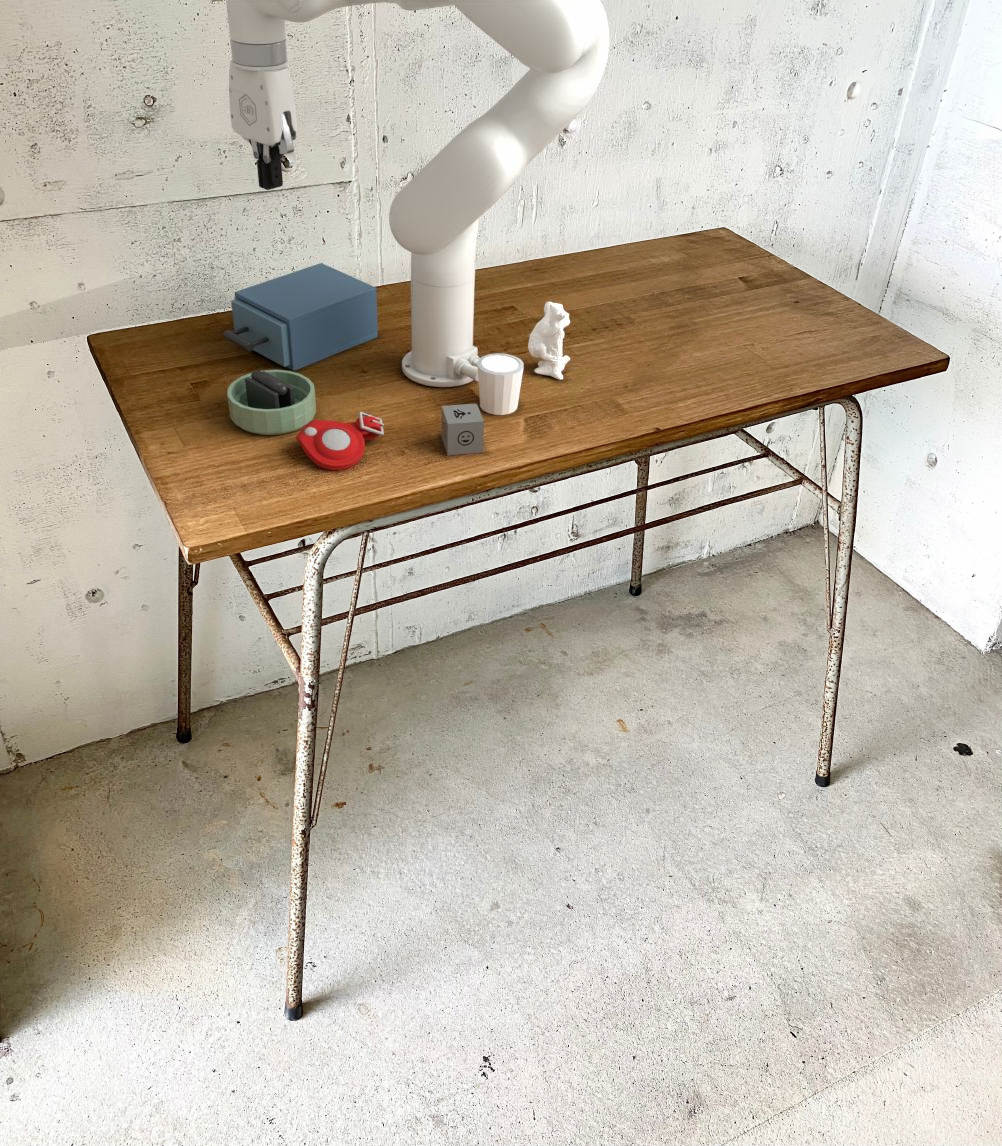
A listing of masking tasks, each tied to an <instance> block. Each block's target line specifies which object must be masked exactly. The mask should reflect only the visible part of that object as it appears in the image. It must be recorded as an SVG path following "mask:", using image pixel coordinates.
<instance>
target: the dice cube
mask: <svg viewBox="0 0 1002 1146" xmlns="http://www.w3.org/2000/svg"><path fill="white" fill-rule="evenodd" d="M484 428H485V421H484V418H483V415H482V412H481V411H480V408H479V405H478V403H466V404H464V403H463V404H451V405H441V430H440V431H441V432H440V433H441V437H440V438H441V440H442V443H443V446H444V450H445V451H446V455H447V456H456V455H459V456H460V455H468V454H482V453H484V433H485V432H484V430H485V429H484Z"/></svg>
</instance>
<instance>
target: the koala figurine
mask: <svg viewBox="0 0 1002 1146" xmlns="http://www.w3.org/2000/svg"><path fill="white" fill-rule="evenodd" d="M543 312H544V316H543V317H542V318H541V320H539V321H538V322H537V323H536V324H535V326H534V328H533V329H532V331H531V332H530V334H529V337H528V343H527V348H528V351H529V354H530V356H531V357H533V358H535V359H539V358H541V359H542V360H539V361H538V362H537V366H538V367H536V368H534V373H535V374H538V375H544V376H550V377H552V378H554V379H556V380H562V381H563V379H564V376H563V374H562V371H563V370H565V366H566V365H567V364H568V362H569V361H571V357H570V356H569V355H564V354H563V346H564V345H563V341H564V340H563V339H565V331H564V328H566V327H569V326H570V324H571V320H570V313H569V312H567V311H565V310H564V306H563V304H562V303H558V302H552V301H546V302H545V304H544V307H543ZM563 355H564V356H563Z"/></svg>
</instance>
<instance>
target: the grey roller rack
mask: <svg viewBox="0 0 1002 1146" xmlns="http://www.w3.org/2000/svg"><path fill="white" fill-rule="evenodd" d="M260 371H262V372H260ZM250 373H251V378H252V379H251V378H249V377H247V378H245V385H246V393H247V402H248V407H251V408H257V409H279V408H284V407H288V406H292V405H294V404H295V399H294V388H293V387H292V386H290V385H288V384H287V383H285V382H283V381H281V380H279V379H278V378H276V377H274V376H272V375H270V374H268V373H267V372H265V371H263V370H258V369H255V370H252V372H250Z"/></svg>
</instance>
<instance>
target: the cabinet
mask: <svg viewBox="0 0 1002 1146" xmlns="http://www.w3.org/2000/svg"><path fill="white" fill-rule="evenodd" d="M377 293H378V292H377V287H375V286H374V285H372V284H369V283H368V282H367V283H366V282H365V281H362V280H360V279H358V278H356V277H353V276H352V275H349V274H347V273H345V272H342V271H341V270H339V269H336V268H333V267H332V266H329V265H327V264H325V263H323V262H320V263H316V264H314V265H311V266H308V267H305V268H302V269H299V270H296V271H293V272H289V273H286V274H284V275H281V276H278V277H275V278H272V279H269V280H266V281H263V282H261V283H257V284H254V285H252V286H249V287H245V288H242V289H240V290H236V291H234V300H235V299H239V300H241V301H243V302H245V303H249V304H251V305H252V306H254V307H256V308H258V309H260V310H262V311H264V312H266V313H268V314H270V315H272V316H274V317H276V318H278V319H280V320H282V321H284V322H286V323H287V329H288V340H289V352H290V364H291V365H288V366H286V367H285V368H287V369H289V370H290V371H292V372H296V371H297V370H300V369H302V368H305V367H308V366H310V365H313V364H316V363H317V362H320V361H322V360H325V359H327V358H329V357H332V356H334V355H335V356H336V355H337V354H339V353H342V352H344V351H347V350H349V349H352V348H354V347H358V346H359V345H362V344H364V343H367V342H369V341H372V340H374V339H376V338H378V337H379V334H378V333H379V329H378V328H379V326H378V295H377Z"/></svg>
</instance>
